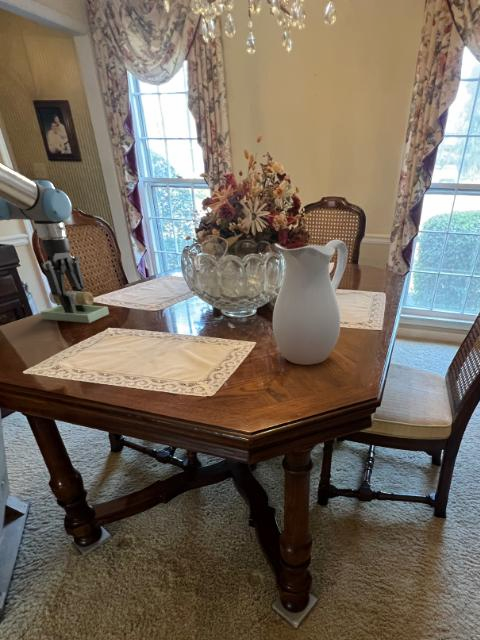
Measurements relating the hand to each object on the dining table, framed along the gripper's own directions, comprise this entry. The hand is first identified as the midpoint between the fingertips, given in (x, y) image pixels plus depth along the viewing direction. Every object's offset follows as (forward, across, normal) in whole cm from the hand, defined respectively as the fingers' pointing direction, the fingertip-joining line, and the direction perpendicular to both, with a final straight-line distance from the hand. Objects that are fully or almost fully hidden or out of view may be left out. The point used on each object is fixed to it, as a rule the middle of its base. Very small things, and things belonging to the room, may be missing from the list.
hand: (75, 313), depth 127 cm
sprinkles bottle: (-5, 0, -7) cm, 9 cm away
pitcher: (+1, -13, -84) cm, 85 cm away
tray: (+1, 0, 0) cm, 1 cm away
